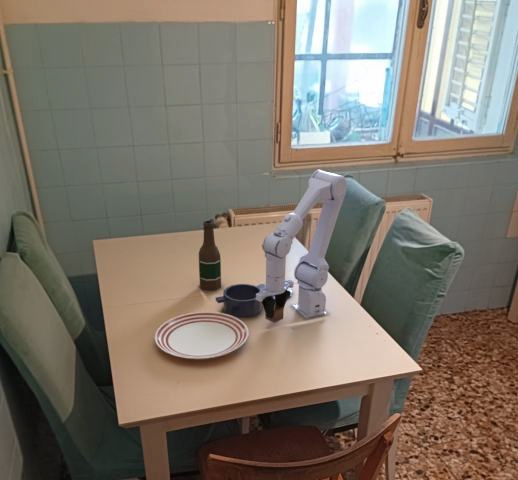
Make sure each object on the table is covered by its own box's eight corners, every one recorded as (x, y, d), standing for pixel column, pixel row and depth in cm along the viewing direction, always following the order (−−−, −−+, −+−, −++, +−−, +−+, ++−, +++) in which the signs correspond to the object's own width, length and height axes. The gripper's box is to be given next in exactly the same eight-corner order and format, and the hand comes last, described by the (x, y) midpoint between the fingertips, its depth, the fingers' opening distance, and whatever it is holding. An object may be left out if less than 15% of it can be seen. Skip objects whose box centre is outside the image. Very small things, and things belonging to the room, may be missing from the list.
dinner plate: (143, 362, 158) (141, 352, 156) (169, 316, 181) (169, 307, 179) (240, 371, 155) (240, 361, 153) (254, 323, 178) (254, 314, 176)
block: (283, 318, 176) (283, 307, 174) (274, 323, 174) (274, 311, 172) (274, 314, 179) (274, 303, 176) (265, 318, 176) (265, 307, 174)
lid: (299, 299, 193) (299, 286, 191) (262, 306, 188) (263, 293, 186) (281, 283, 204) (281, 271, 201) (246, 289, 199) (246, 277, 196)
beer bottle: (218, 293, 196) (216, 226, 183) (196, 291, 197) (193, 224, 185) (224, 284, 202) (222, 219, 190) (203, 282, 204) (200, 217, 191)
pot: (276, 313, 184) (276, 295, 181) (224, 323, 178) (223, 305, 174) (260, 297, 194) (260, 280, 190) (210, 306, 187) (209, 289, 184)
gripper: (282, 263, 175) (280, 302, 182) (248, 277, 166) (248, 317, 173) (299, 270, 171) (297, 310, 178) (265, 284, 162) (265, 326, 169)
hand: (274, 314), depth 175 cm, fingers closed on block, 4 cm apart
